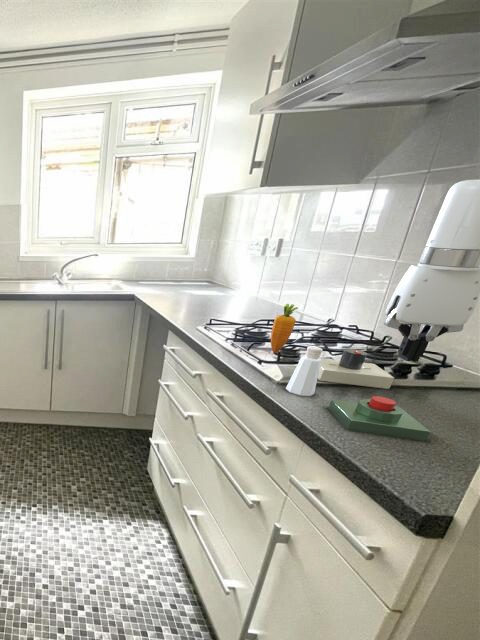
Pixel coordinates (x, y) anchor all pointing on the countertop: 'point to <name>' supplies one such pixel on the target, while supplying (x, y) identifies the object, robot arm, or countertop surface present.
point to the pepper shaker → (306, 373)
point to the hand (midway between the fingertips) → (407, 358)
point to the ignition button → (382, 403)
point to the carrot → (282, 328)
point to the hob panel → (354, 374)
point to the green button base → (377, 420)
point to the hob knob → (352, 359)
